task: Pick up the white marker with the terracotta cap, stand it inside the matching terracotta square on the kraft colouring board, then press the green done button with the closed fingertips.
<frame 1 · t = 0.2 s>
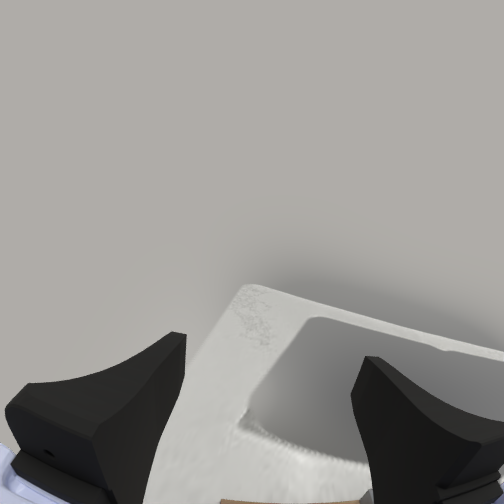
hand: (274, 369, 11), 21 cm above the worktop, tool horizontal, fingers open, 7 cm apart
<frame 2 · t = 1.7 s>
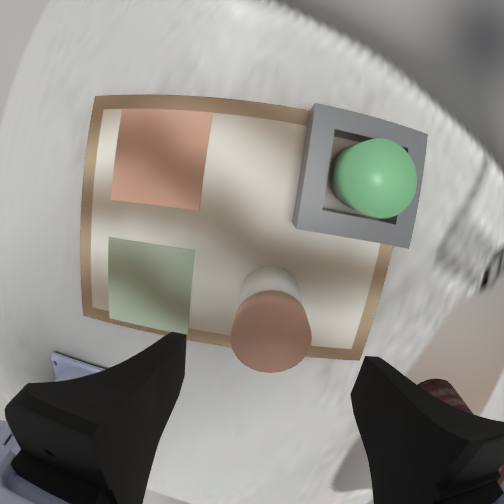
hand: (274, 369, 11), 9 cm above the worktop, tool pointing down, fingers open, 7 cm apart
marker: (269, 292, 19), point 1 cm above the worktop, touching board
done button: (372, 177, 15), point 4 cm above the worktop, slide at 0.0 cm
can: (420, 401, 23), on the worktop
button housing: (352, 177, 18), resting on board
board: (230, 229, 19), on the worktop
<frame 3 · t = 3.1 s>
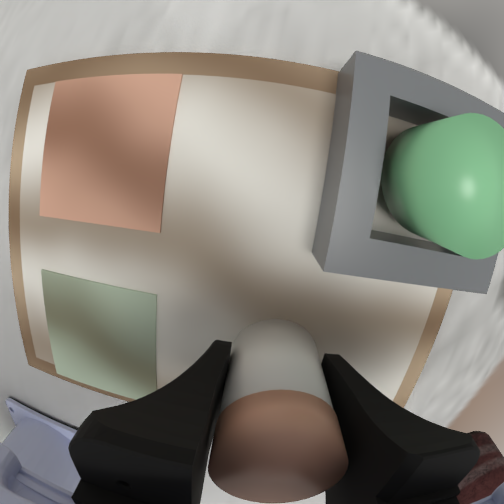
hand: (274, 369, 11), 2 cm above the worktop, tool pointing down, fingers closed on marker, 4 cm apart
marker: (273, 357, 12), point 1 cm above the worktop, touching board, gripper
done button: (454, 183, 7), point 4 cm above the worktop, slide at 0.0 cm
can: (452, 454, 15), on the worktop
button housing: (403, 179, 11), resting on board
board: (212, 261, 12), on the worktop
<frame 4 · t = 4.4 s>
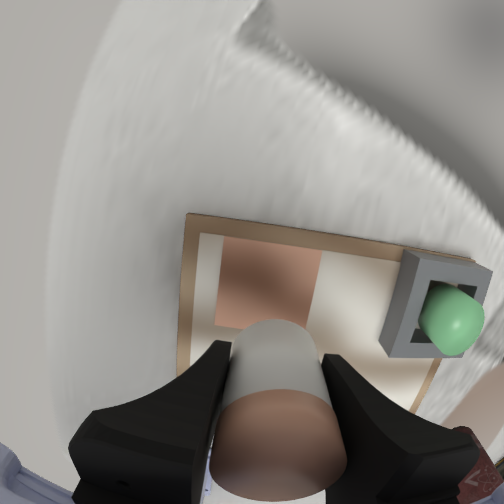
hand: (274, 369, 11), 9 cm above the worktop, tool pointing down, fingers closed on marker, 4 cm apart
marker: (273, 356, 12), point 8 cm above the worktop, touching gripper
done button: (450, 318, 16), point 4 cm above the worktop, slide at 0.0 cm
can: (446, 442, 24), on the worktop
button housing: (426, 298, 20), resting on board
board: (326, 345, 21), on the worktop
when the fingers open (3 cm above the worktop, at t = 5.9 s): marker drops 1 cm, resting on board.
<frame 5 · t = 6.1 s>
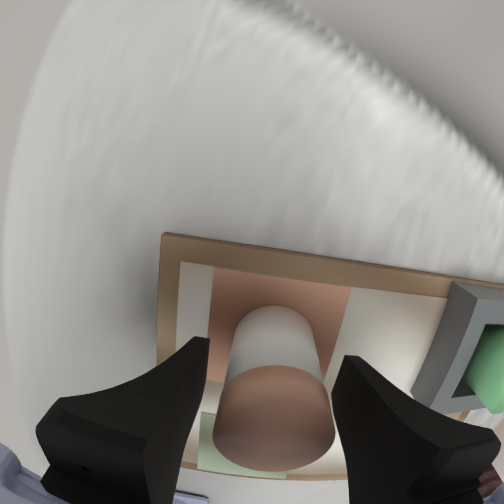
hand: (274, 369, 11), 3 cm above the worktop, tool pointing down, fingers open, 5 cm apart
marker: (273, 340, 14), point 1 cm above the worktop, touching board
done button: (501, 368, 11), point 4 cm above the worktop, slide at 0.0 cm
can: (464, 476, 19), on the worktop
button housing: (468, 336, 14), resting on board
board: (346, 398, 15), on the worktop
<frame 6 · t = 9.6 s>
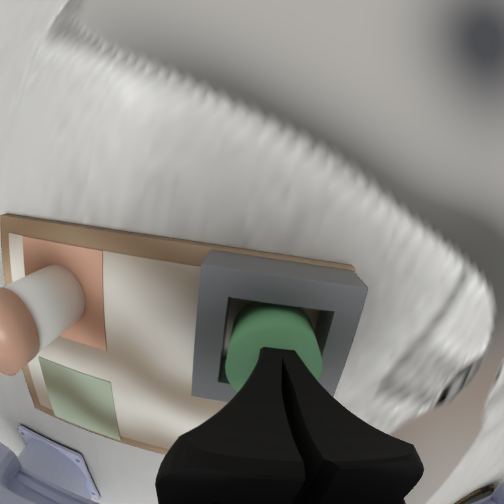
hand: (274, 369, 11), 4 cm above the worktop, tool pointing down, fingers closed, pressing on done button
marker: (60, 294, 15), point 1 cm above the worktop, touching board
done button: (273, 350, 13), point 3 cm above the worktop, slide at 0.7 cm, touching gripper
apothecary jar: (465, 503, 23), on the worktop
button housing: (271, 319, 16), resting on board
board: (142, 365, 17), on the worktop
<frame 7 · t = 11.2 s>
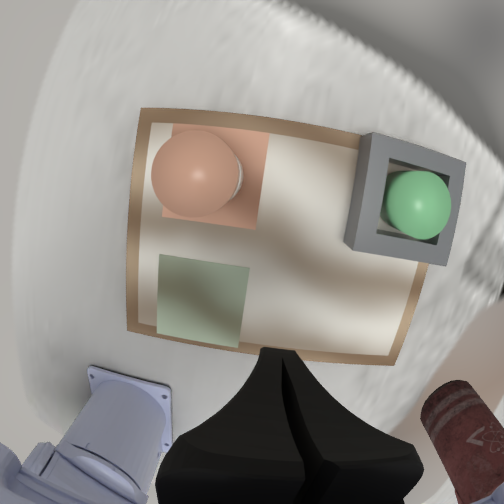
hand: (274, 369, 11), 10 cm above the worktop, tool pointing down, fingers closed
marker: (213, 175, 18), point 1 cm above the worktop, touching board
done button: (413, 202, 16), point 3 cm above the worktop, slide at 1.0 cm
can: (442, 400, 23), on the worktop
button housing: (395, 198, 19), resting on board
board: (284, 247, 20), on the worktop
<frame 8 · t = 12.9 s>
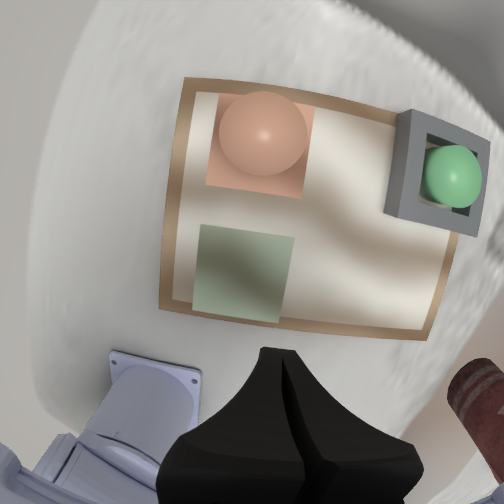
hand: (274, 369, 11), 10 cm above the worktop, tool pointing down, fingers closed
marker: (260, 144, 18), point 1 cm above the worktop, touching board
done button: (447, 175, 16), point 3 cm above the worktop, slide at 1.0 cm
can: (466, 380, 23), on the worktop
button housing: (428, 174, 19), resting on board
board: (326, 218, 20), on the worktop
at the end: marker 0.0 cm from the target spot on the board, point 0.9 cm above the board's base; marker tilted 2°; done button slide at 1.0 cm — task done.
